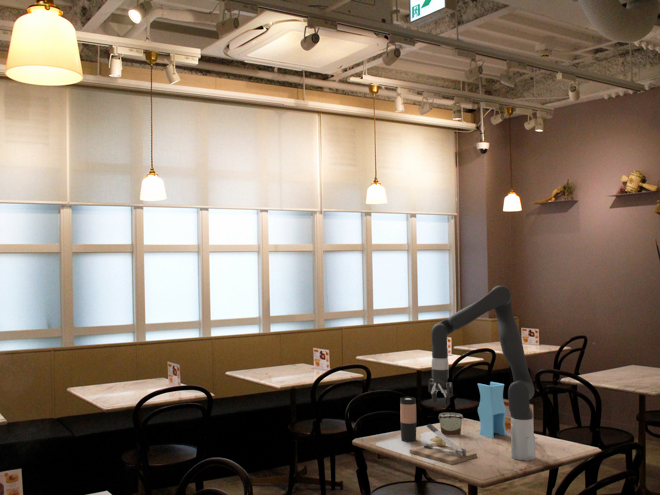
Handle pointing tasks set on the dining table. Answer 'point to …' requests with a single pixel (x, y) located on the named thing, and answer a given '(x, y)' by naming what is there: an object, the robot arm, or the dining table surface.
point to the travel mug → (408, 418)
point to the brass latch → (438, 441)
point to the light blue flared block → (492, 409)
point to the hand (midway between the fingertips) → (440, 404)
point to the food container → (450, 423)
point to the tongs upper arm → (444, 437)
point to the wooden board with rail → (443, 453)
